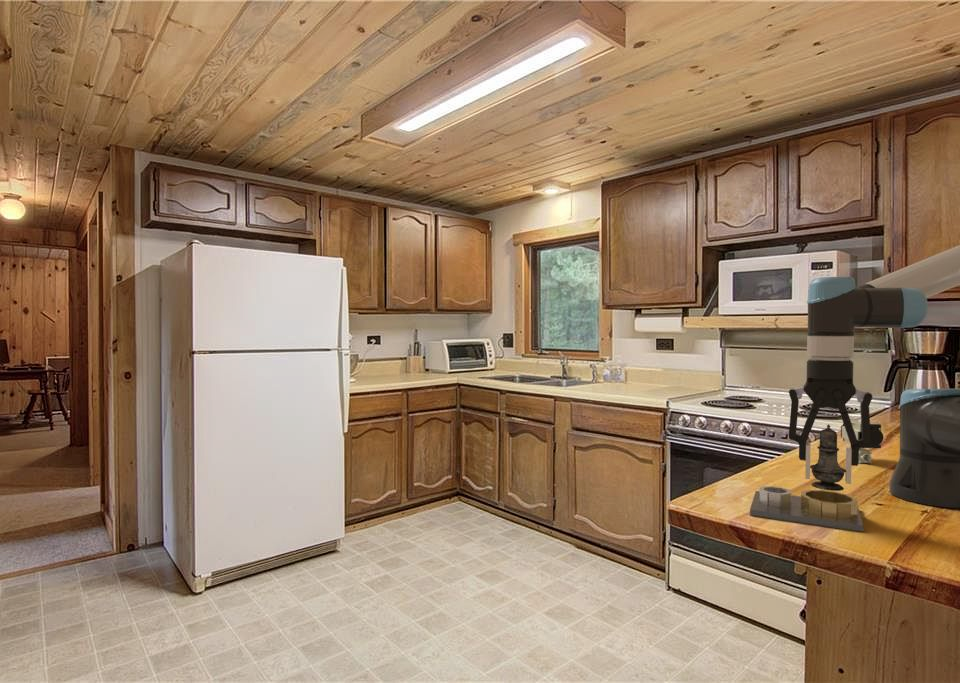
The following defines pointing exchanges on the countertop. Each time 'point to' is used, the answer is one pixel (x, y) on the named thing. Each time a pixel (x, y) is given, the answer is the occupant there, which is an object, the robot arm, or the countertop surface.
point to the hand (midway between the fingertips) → (827, 479)
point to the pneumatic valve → (875, 438)
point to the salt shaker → (828, 462)
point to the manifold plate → (803, 515)
